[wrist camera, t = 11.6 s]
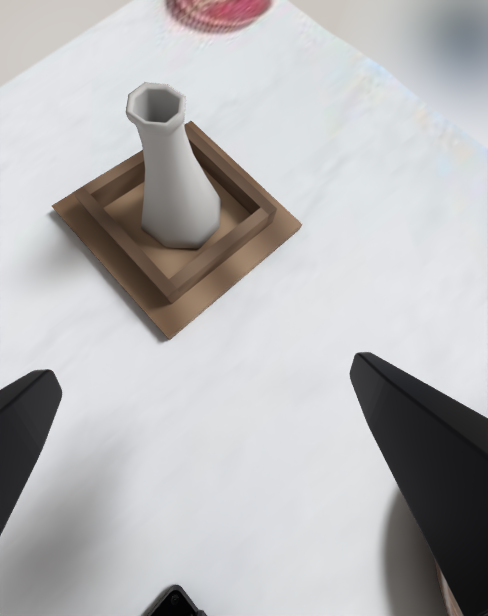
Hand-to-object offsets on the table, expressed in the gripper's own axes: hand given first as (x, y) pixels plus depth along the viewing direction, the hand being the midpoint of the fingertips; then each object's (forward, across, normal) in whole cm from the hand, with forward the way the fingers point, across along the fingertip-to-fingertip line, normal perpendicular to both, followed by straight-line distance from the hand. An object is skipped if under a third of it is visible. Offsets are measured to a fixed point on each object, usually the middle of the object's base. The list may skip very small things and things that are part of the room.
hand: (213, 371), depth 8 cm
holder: (+20, +3, -1) cm, 20 cm away
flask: (+19, +3, -1) cm, 20 cm away
